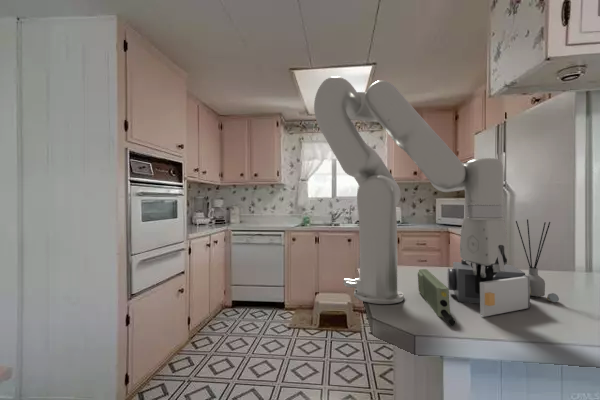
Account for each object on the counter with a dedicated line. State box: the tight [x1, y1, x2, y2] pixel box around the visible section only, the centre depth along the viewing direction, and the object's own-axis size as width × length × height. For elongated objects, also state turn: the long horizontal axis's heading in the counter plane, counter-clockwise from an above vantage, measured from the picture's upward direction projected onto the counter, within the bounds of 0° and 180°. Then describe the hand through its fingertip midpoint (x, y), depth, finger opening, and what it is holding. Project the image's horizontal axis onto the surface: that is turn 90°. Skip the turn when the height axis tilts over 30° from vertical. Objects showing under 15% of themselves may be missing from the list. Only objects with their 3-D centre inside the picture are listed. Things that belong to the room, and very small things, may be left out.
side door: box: [479, 274, 531, 317], centre depth 68 cm, size 15×2×7 cm, turn 111°
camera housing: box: [446, 258, 526, 304], centre depth 79 cm, size 16×10×9 cm, turn 70°
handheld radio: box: [417, 268, 456, 326], centre depth 73 cm, size 7×3×25 cm
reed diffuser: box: [515, 219, 560, 303], centre depth 80 cm, size 10×7×20 cm
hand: (484, 293), depth 70 cm, fingers closed
